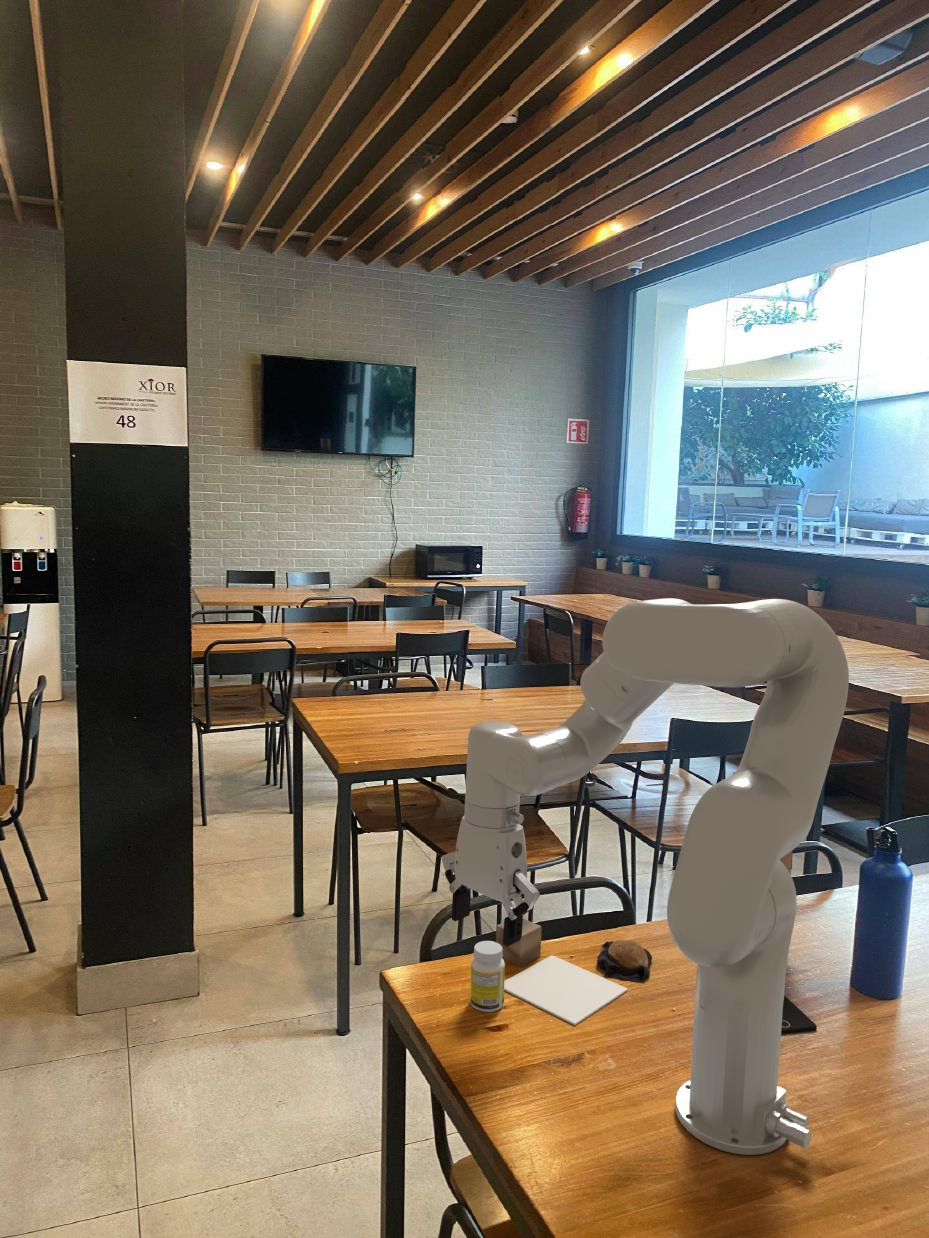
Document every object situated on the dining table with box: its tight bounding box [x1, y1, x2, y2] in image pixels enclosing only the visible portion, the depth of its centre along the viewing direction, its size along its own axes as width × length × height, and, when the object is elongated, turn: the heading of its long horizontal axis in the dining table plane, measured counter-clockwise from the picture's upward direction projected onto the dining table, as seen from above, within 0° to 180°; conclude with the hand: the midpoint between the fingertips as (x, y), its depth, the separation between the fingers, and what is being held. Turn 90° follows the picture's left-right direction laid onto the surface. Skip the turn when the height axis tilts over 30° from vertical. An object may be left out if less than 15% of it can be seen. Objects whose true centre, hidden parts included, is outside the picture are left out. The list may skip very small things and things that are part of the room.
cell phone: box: [781, 994, 817, 1035], centre depth 129 cm, size 9×18×1 cm, turn 12°
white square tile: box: [504, 954, 629, 1026], centre depth 130 cm, size 14×13×1 cm
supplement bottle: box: [470, 940, 506, 1013], centre depth 125 cm, size 5×5×8 cm
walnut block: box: [495, 918, 542, 968], centre depth 139 cm, size 5×5×5 cm
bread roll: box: [596, 939, 653, 983], centre depth 138 cm, size 11×8×4 cm
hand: (485, 929), depth 125 cm, fingers open, 9 cm apart
